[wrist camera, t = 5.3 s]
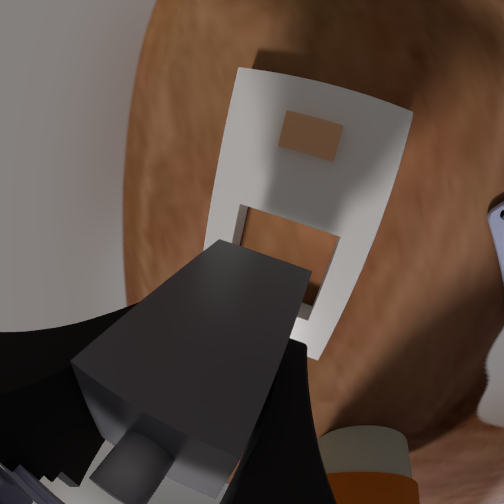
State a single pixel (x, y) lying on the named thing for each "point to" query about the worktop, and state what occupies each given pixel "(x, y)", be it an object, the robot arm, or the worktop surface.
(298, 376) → the robot arm
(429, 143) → the worktop surface
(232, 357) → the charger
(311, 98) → the white board with cutouts
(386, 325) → the worktop surface
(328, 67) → the worktop surface
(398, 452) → the reusable coffee cup
